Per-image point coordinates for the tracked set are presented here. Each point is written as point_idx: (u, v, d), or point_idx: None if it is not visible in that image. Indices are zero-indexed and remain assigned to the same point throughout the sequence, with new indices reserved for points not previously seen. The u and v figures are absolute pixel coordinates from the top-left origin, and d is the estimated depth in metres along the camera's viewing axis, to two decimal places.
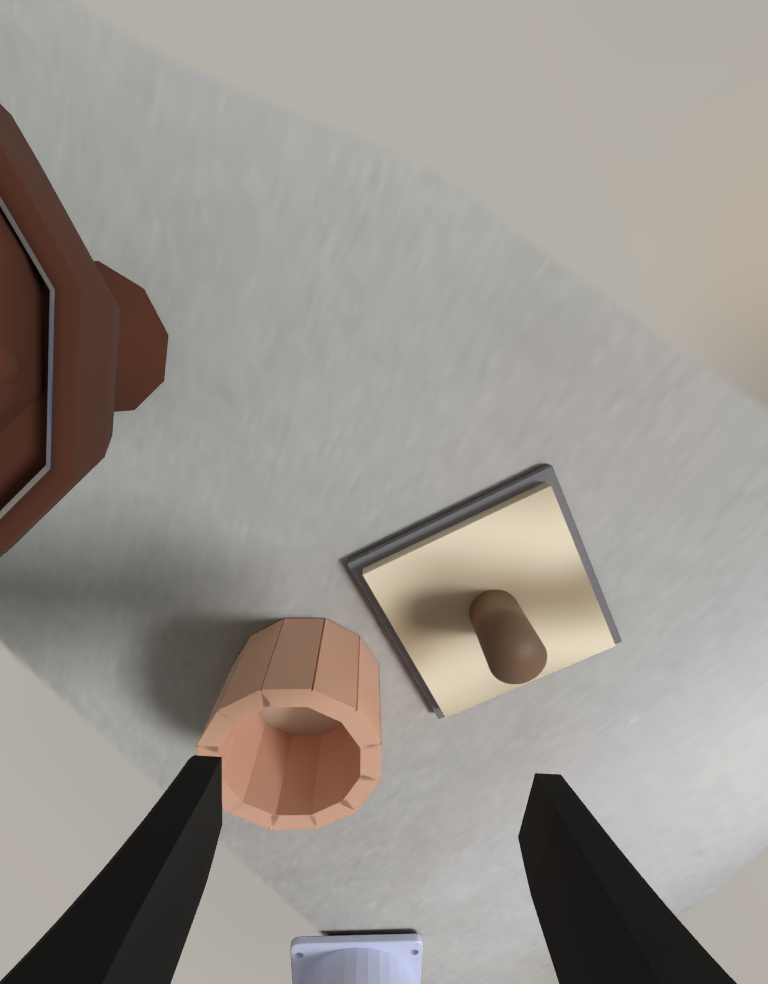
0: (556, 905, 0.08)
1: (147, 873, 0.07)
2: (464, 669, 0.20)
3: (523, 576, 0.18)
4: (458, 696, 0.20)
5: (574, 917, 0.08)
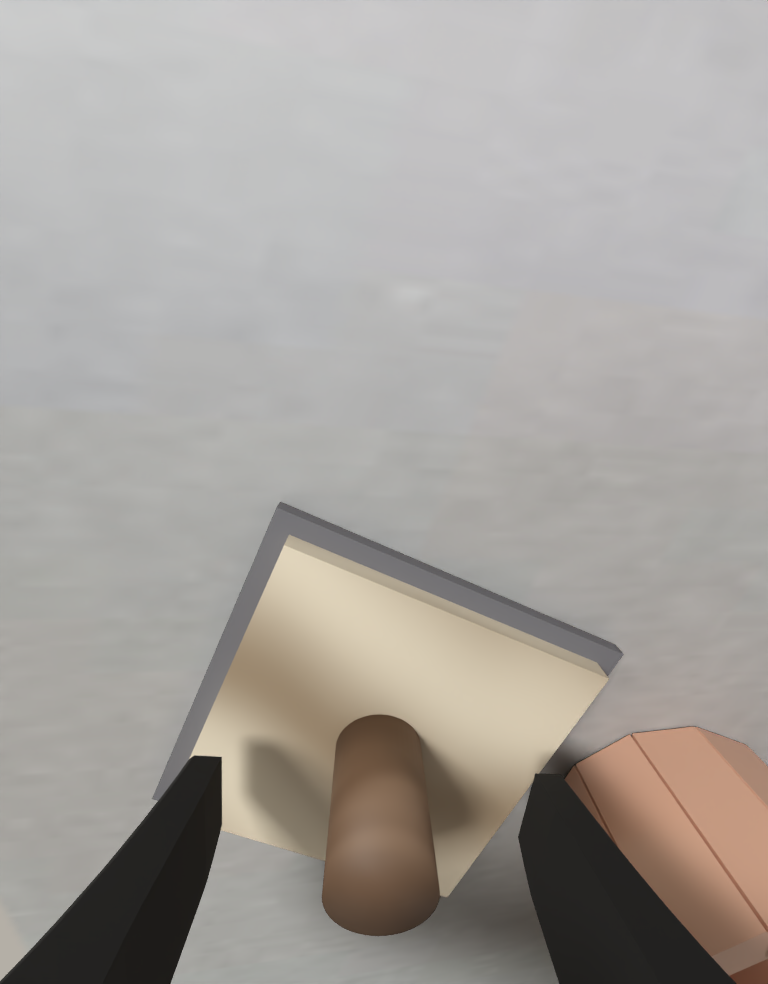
0: (556, 905, 0.08)
1: (147, 873, 0.07)
2: (499, 716, 0.11)
3: (298, 754, 0.11)
4: (555, 690, 0.11)
5: (574, 917, 0.08)
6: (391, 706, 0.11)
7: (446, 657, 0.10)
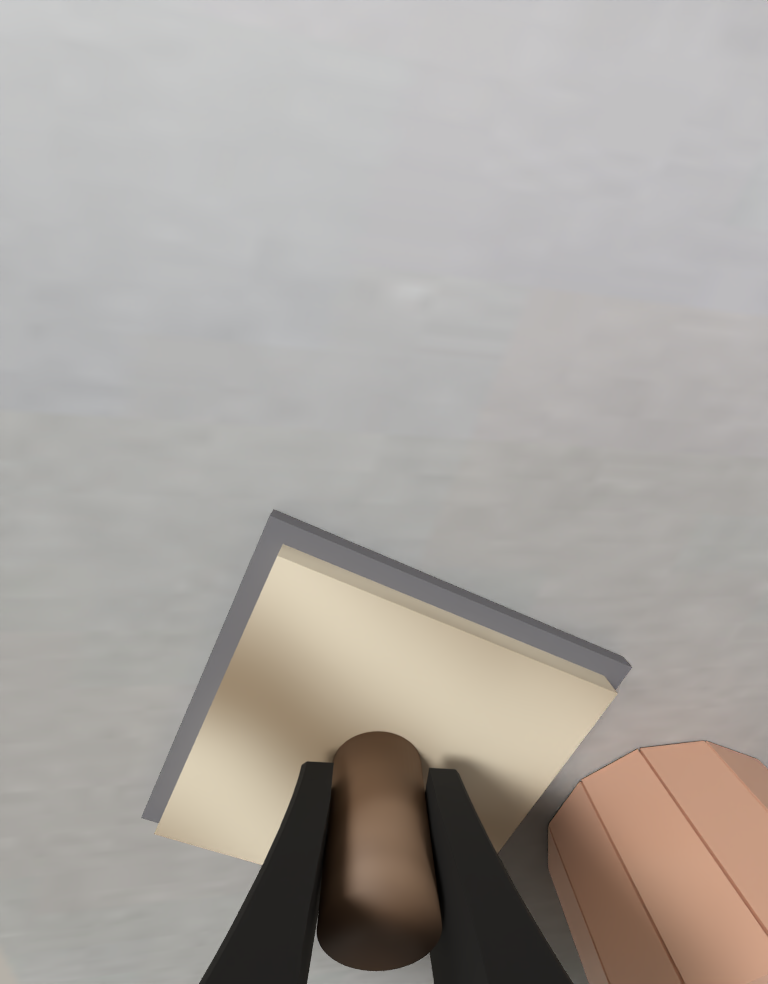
0: None
1: (303, 878, 0.07)
2: (503, 732, 0.10)
3: (293, 772, 0.11)
4: (561, 705, 0.10)
5: (444, 913, 0.08)
6: (390, 722, 0.10)
7: (448, 672, 0.10)
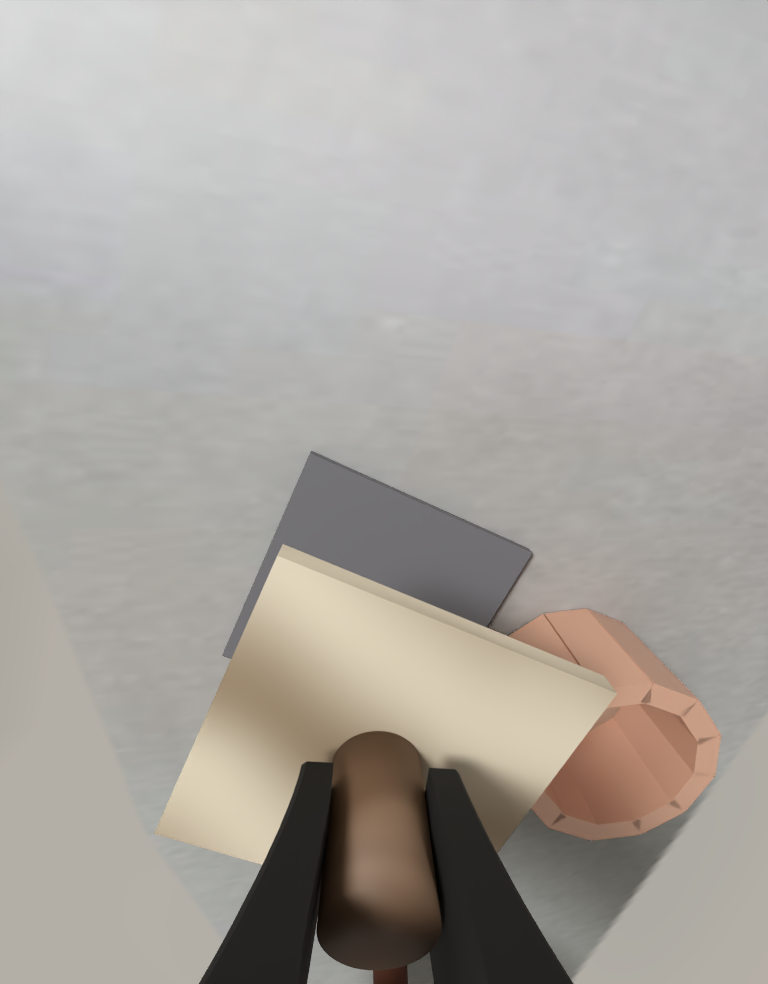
0: None
1: (303, 879, 0.07)
2: (503, 733, 0.10)
3: (293, 772, 0.11)
4: (561, 705, 0.10)
5: (444, 913, 0.08)
6: (390, 722, 0.10)
7: (447, 672, 0.10)
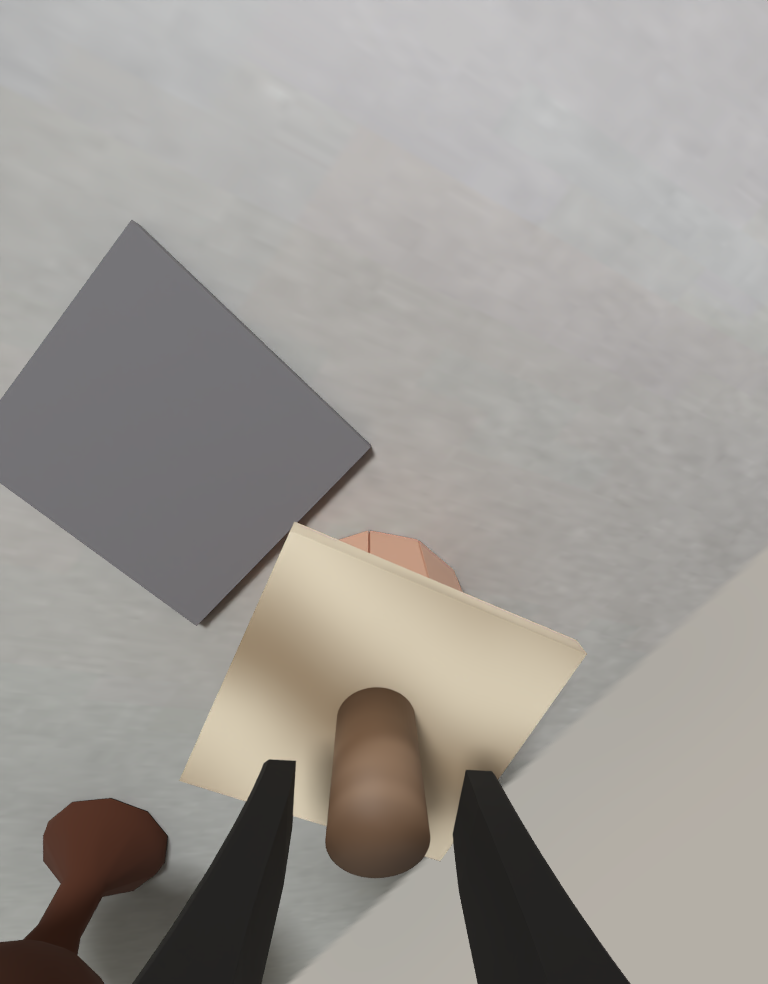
0: (476, 902, 0.08)
1: (251, 877, 0.07)
2: (487, 689, 0.12)
3: (302, 724, 0.12)
4: (537, 664, 0.12)
5: (489, 914, 0.08)
6: (387, 679, 0.12)
7: (438, 634, 0.11)
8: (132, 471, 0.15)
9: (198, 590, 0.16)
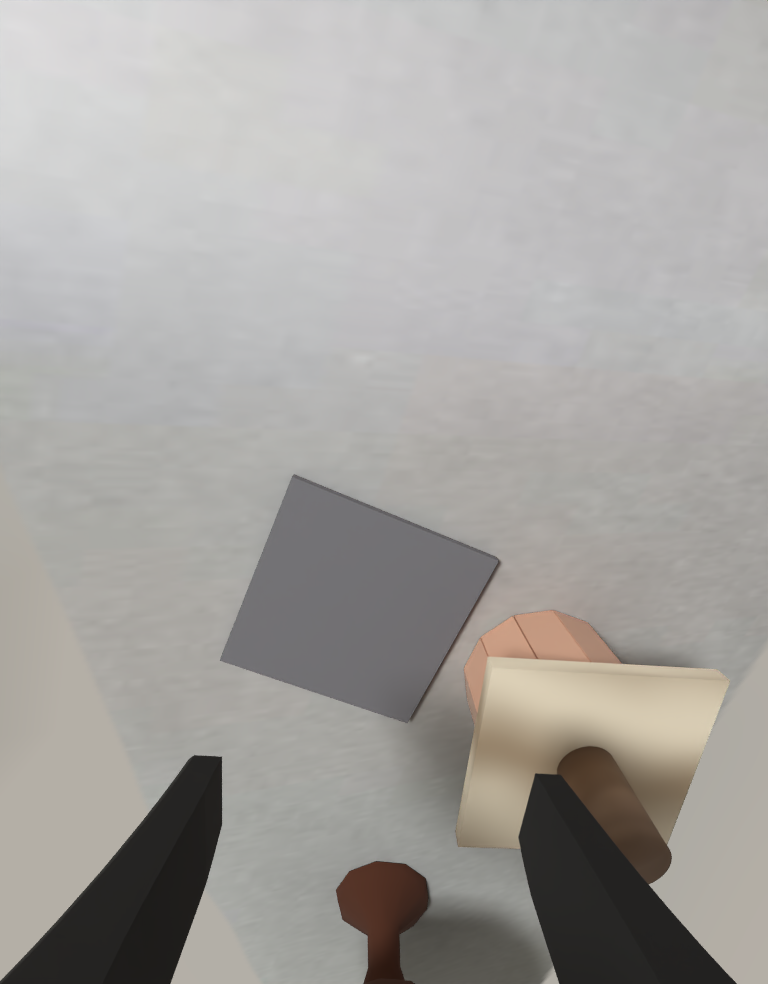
0: (556, 905, 0.08)
1: (147, 873, 0.07)
2: (662, 726, 0.16)
3: None
4: (694, 699, 0.15)
5: (574, 917, 0.08)
6: (586, 740, 0.16)
7: (613, 700, 0.15)
8: (334, 633, 0.20)
9: (402, 698, 0.21)
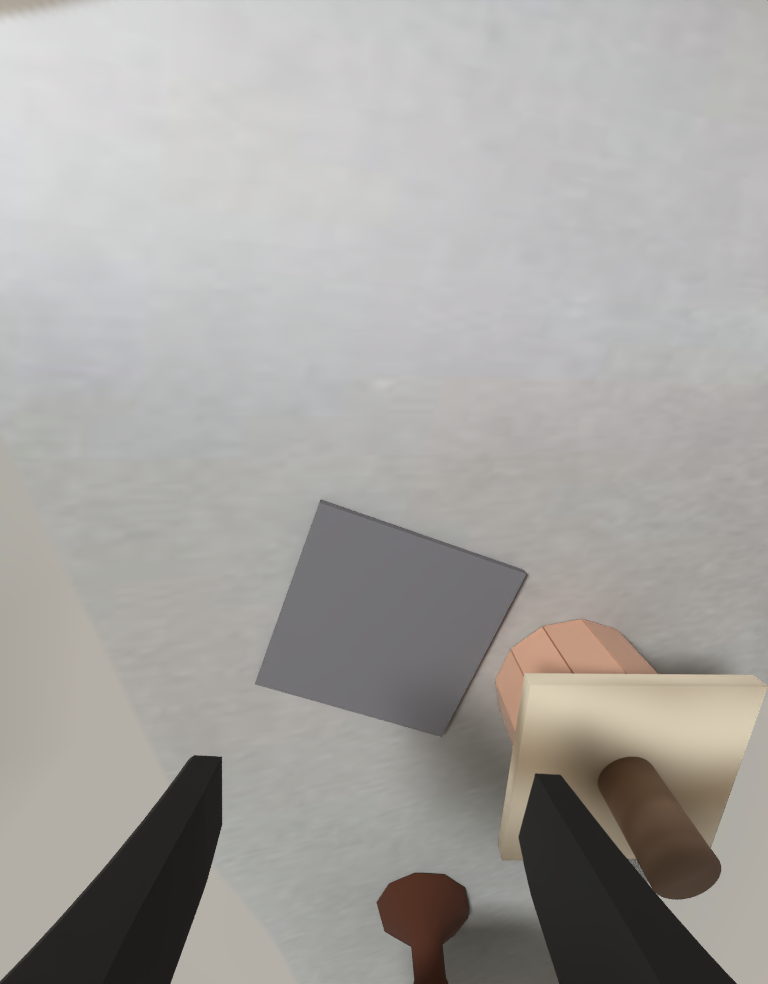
0: (556, 905, 0.08)
1: (147, 873, 0.07)
2: (701, 734, 0.16)
3: None
4: (733, 706, 0.15)
5: (574, 917, 0.08)
6: (626, 751, 0.16)
7: (652, 711, 0.15)
8: (366, 652, 0.20)
9: (435, 712, 0.21)
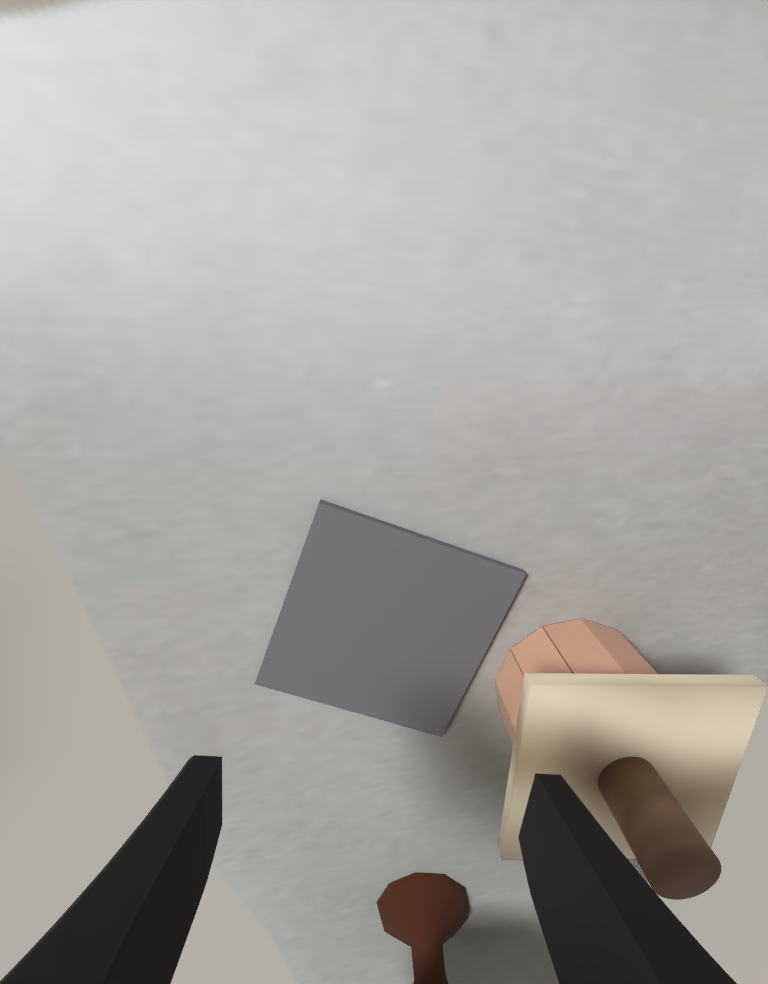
0: (556, 905, 0.08)
1: (147, 873, 0.07)
2: (701, 734, 0.16)
3: None
4: (733, 706, 0.15)
5: (574, 917, 0.08)
6: (626, 751, 0.16)
7: (652, 711, 0.15)
8: (366, 652, 0.20)
9: (435, 712, 0.21)
